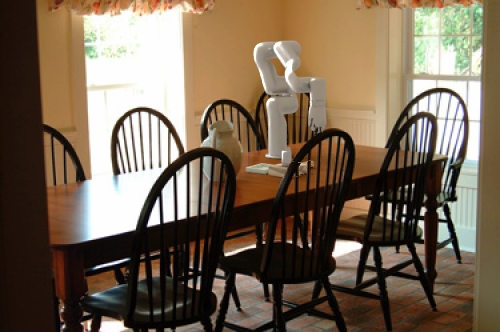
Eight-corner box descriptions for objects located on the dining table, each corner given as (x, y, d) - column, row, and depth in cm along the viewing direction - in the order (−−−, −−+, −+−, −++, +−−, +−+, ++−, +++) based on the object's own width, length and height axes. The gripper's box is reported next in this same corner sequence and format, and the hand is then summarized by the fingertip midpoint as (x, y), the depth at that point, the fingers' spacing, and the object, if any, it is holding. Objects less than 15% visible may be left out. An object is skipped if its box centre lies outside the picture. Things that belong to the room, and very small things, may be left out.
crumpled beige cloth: (287, 169, 354) (287, 161, 353) (309, 172, 346) (309, 164, 346) (268, 175, 341) (268, 166, 340) (290, 178, 334) (290, 169, 333)
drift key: (309, 166, 360) (309, 160, 359) (313, 167, 358) (313, 161, 358) (295, 170, 350) (295, 164, 350) (300, 171, 349) (300, 165, 348)
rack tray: (261, 167, 360) (261, 163, 359) (280, 169, 353) (280, 165, 353) (245, 171, 349) (245, 167, 349) (264, 174, 343) (264, 170, 342)
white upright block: (285, 173, 345) (285, 149, 343) (293, 174, 343) (293, 150, 340) (280, 174, 342) (280, 151, 340) (287, 175, 339) (288, 152, 337)
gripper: (319, 102, 365) (319, 139, 368) (302, 104, 353) (303, 142, 357) (332, 102, 361) (332, 140, 364) (316, 105, 349) (316, 143, 352)
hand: (318, 141), depth 360 cm, fingers closed
